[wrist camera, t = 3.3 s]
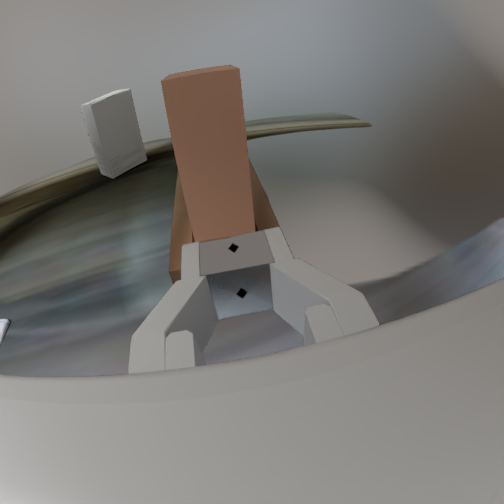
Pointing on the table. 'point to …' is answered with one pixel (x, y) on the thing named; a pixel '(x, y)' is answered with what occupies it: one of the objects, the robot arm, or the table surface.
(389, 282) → the table surface
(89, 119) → the skincare box
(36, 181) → the table surface
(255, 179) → the chute
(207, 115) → the post
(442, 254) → the table surface
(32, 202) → the table surface
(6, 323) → the folded bicycle print cloth
